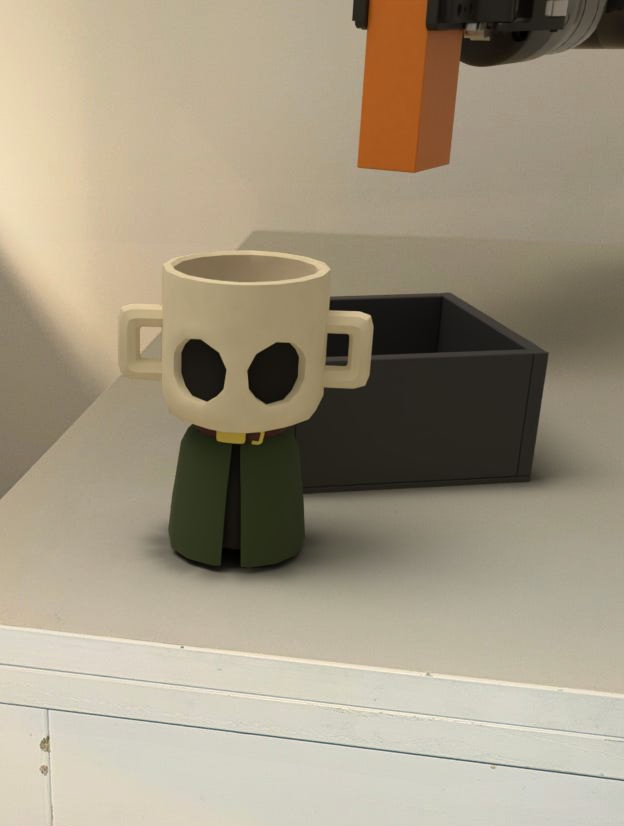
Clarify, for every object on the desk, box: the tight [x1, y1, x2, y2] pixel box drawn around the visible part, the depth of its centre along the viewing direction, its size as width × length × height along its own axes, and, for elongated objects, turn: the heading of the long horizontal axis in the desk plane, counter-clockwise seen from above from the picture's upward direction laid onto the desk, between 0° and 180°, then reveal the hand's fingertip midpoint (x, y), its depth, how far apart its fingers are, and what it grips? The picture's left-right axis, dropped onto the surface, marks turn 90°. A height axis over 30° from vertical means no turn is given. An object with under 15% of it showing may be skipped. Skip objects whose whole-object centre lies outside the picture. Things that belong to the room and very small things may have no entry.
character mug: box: [117, 249, 373, 569], centre depth 58 cm, size 11×7×13 cm, turn 82°
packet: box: [356, 0, 463, 174], centre depth 80 cm, size 5×4×11 cm
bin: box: [289, 292, 550, 495], centre depth 72 cm, size 14×14×7 cm
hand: (396, 9), depth 76 cm, fingers closed on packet, 4 cm apart
